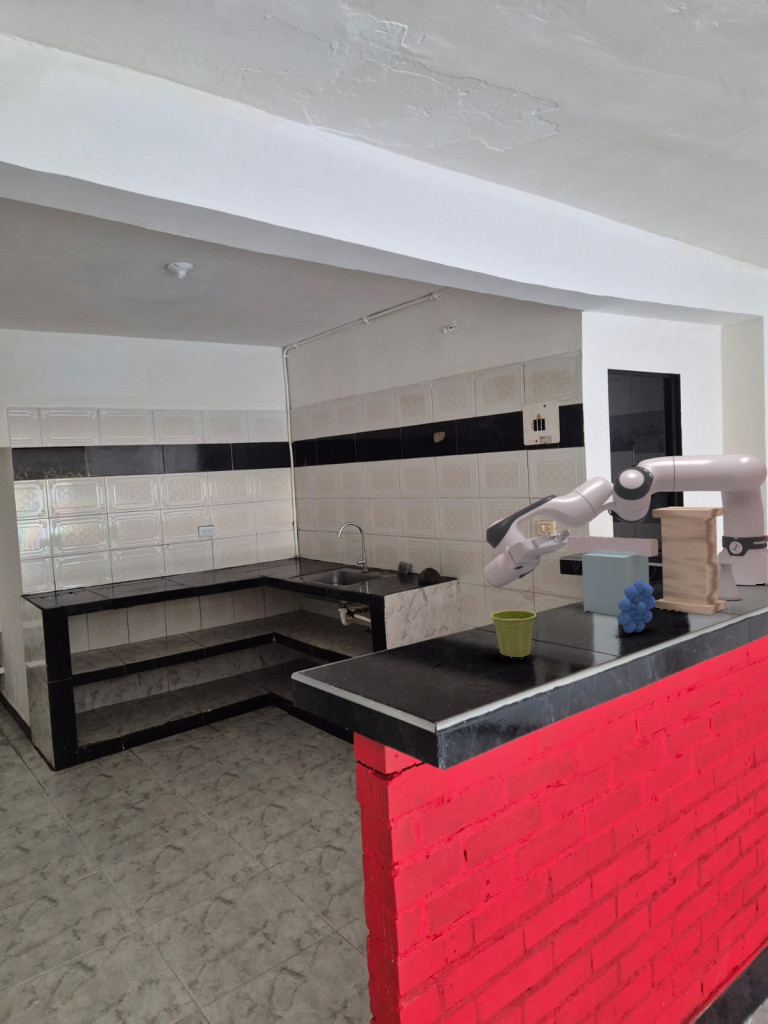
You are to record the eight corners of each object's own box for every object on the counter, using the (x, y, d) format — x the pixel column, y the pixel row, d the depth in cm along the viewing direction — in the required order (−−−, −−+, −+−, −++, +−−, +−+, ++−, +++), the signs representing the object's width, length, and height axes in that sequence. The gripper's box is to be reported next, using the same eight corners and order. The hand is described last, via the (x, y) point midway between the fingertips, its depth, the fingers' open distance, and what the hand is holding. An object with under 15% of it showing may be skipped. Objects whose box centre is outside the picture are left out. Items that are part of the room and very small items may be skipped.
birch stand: (673, 602, 186) (671, 506, 184) (726, 608, 175) (724, 507, 173) (655, 608, 179) (652, 509, 177) (709, 615, 169) (706, 510, 167)
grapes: (639, 625, 163) (637, 575, 162) (663, 630, 157) (662, 578, 156) (605, 633, 157) (603, 581, 156) (629, 638, 151) (627, 585, 150)
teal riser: (608, 603, 188) (606, 549, 187) (649, 608, 179) (648, 552, 178) (583, 611, 181) (581, 554, 180) (625, 617, 171) (623, 557, 170)
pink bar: (575, 549, 190) (574, 535, 190) (658, 555, 172) (657, 539, 172) (568, 551, 188) (567, 536, 188) (651, 556, 170) (650, 540, 169)
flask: (747, 600, 183) (746, 563, 182) (719, 601, 183) (719, 564, 182) (733, 595, 190) (732, 560, 190) (707, 596, 190) (706, 561, 190)
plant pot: (484, 653, 145) (482, 613, 145) (521, 647, 149) (520, 607, 148) (507, 664, 137) (505, 621, 136) (547, 657, 140) (545, 615, 140)
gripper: (551, 560, 207) (584, 539, 197) (508, 569, 193) (542, 547, 184) (541, 542, 209) (574, 520, 199) (498, 550, 195) (531, 527, 186)
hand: (558, 533), depth 192 cm, fingers open, 8 cm apart
